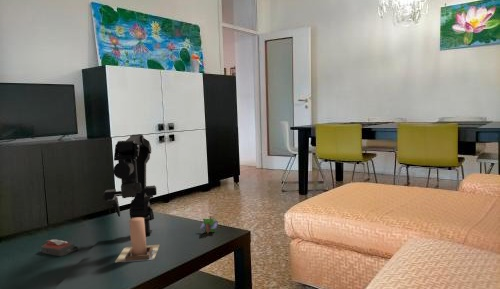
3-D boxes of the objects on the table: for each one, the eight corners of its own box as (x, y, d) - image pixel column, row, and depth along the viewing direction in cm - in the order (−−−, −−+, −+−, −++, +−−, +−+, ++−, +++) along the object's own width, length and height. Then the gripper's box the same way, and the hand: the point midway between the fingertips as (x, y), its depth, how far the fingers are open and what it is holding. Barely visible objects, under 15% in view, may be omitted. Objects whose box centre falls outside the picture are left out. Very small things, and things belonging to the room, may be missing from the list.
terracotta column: (129, 255, 131) (126, 219, 130) (143, 251, 134) (140, 216, 133) (135, 259, 127) (132, 222, 126) (149, 255, 130) (146, 219, 129)
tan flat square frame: (124, 250, 140) (124, 247, 140) (160, 247, 141) (159, 244, 141) (114, 266, 125) (114, 262, 125) (153, 263, 127) (153, 259, 126)
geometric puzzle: (213, 232, 150) (216, 213, 154) (197, 231, 151) (200, 213, 155) (218, 237, 156) (220, 219, 160) (202, 237, 157) (205, 219, 161)
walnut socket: (130, 252, 134) (130, 248, 134) (152, 250, 135) (152, 246, 135) (125, 261, 126) (125, 257, 126) (149, 259, 127) (148, 255, 127)
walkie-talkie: (83, 249, 144) (48, 243, 153) (81, 238, 144) (47, 233, 153) (62, 258, 136) (28, 251, 145) (61, 246, 136) (26, 240, 145)
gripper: (98, 180, 129) (102, 224, 130) (154, 175, 133) (157, 218, 134) (103, 175, 139) (107, 215, 141) (155, 170, 144) (157, 210, 145)
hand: (132, 215), depth 140 cm, fingers open, 9 cm apart
